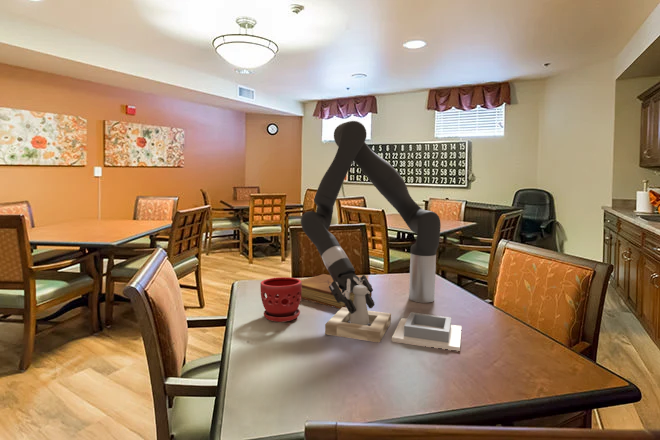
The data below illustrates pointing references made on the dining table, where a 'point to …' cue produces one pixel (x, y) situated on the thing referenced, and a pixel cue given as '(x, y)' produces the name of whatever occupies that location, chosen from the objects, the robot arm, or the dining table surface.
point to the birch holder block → (358, 326)
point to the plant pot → (281, 298)
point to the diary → (322, 291)
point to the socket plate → (428, 331)
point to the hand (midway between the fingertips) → (363, 309)
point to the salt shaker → (360, 306)
